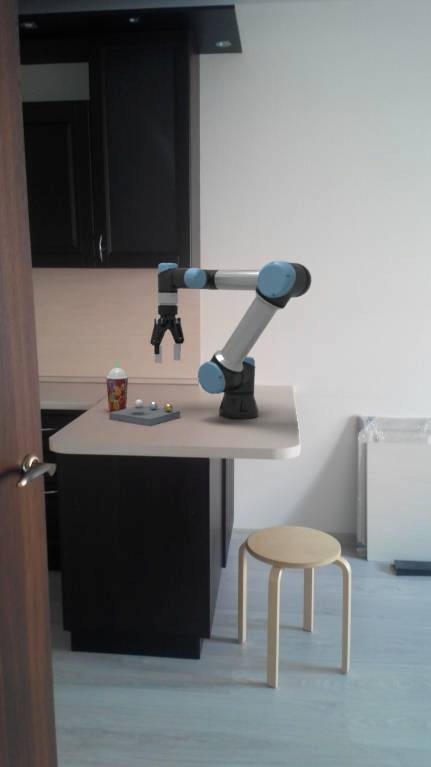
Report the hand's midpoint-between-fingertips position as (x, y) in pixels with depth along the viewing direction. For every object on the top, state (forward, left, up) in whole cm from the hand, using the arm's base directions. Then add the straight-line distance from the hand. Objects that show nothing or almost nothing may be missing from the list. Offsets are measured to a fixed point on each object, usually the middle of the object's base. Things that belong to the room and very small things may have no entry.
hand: (167, 361), depth 227 cm
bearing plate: (0, +14, -20) cm, 24 cm away
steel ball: (0, +9, -16) cm, 18 cm away
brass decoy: (-7, +9, -16) cm, 20 cm away
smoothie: (+17, +10, -20) cm, 28 cm away
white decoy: (+7, +9, -16) cm, 20 cm away
